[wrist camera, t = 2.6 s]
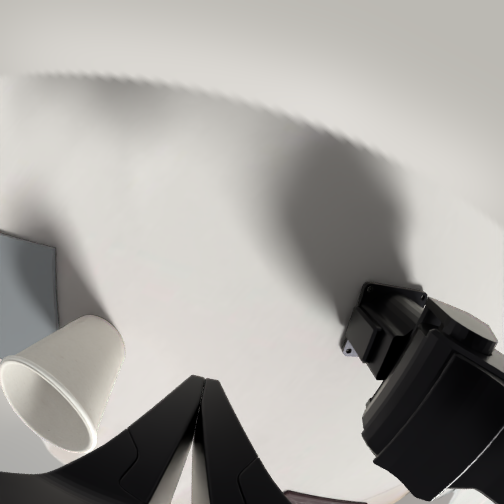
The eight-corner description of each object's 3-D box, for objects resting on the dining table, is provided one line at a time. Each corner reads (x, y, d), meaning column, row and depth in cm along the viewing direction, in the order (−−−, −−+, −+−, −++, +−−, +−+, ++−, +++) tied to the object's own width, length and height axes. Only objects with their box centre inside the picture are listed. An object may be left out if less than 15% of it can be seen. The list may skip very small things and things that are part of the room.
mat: (55, 247, 20) (52, 249, 19) (69, 390, 23) (67, 393, 23) (-23, 226, 19) (-25, 227, 19) (-6, 352, 22) (-8, 353, 22)
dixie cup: (49, 309, 21) (-18, 360, 11) (115, 291, 21) (44, 353, 11) (87, 383, 23) (41, 447, 13) (155, 376, 23) (118, 459, 13)
